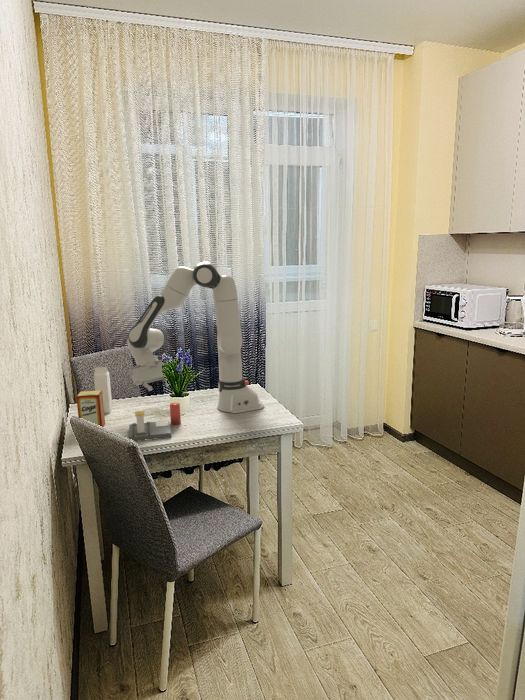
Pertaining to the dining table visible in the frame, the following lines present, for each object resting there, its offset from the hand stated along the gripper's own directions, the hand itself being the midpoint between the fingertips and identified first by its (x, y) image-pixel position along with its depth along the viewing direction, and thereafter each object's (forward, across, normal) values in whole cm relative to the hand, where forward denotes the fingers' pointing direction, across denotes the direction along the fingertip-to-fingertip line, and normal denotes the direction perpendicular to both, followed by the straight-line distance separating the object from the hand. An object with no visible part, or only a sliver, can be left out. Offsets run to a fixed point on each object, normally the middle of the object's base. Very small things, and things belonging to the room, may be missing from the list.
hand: (159, 387), depth 227 cm
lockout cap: (+18, 0, +2) cm, 18 cm away
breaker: (+20, -20, -3) cm, 28 cm away
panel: (+19, -14, +1) cm, 24 cm away
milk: (-9, -15, +29) cm, 34 cm away
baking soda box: (+2, -28, +18) cm, 34 cm away
